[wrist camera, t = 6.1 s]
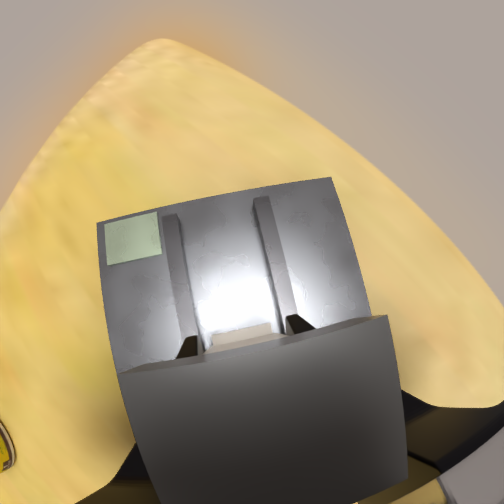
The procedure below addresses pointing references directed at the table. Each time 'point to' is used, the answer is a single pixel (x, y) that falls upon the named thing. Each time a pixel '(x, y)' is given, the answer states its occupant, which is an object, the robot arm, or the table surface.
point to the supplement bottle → (5, 450)
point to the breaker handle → (273, 417)
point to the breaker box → (226, 268)
